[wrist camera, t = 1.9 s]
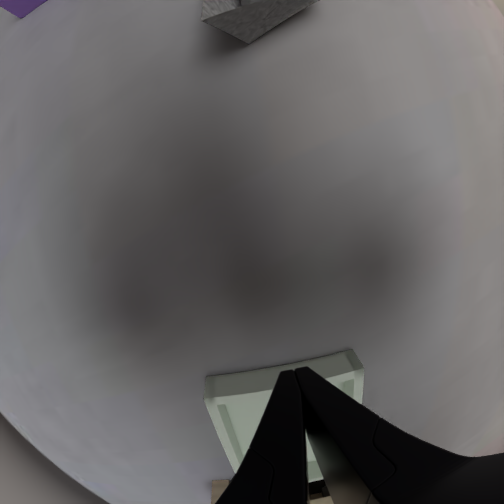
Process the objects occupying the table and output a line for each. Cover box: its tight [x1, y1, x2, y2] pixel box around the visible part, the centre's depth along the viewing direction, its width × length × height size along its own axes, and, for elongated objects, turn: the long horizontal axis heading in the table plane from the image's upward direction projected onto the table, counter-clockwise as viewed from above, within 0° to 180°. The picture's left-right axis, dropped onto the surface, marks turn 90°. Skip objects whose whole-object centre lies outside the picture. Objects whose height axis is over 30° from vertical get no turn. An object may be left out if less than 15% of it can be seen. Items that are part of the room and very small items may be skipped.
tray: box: [203, 349, 364, 482], centre depth 17 cm, size 12×9×2 cm
